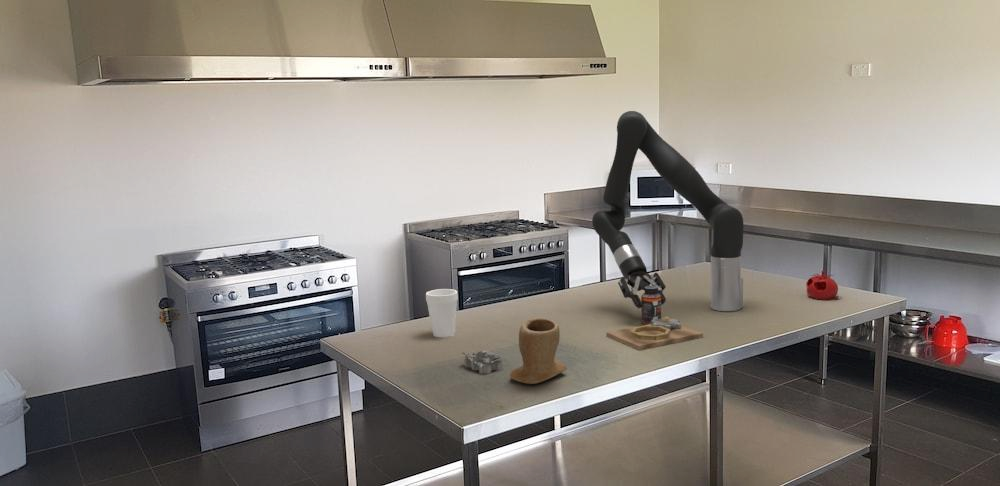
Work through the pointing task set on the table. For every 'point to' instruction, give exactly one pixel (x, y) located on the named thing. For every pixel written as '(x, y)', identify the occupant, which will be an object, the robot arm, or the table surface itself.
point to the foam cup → (442, 311)
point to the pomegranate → (821, 287)
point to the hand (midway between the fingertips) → (652, 305)
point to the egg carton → (483, 361)
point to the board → (654, 334)
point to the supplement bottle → (650, 305)
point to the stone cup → (538, 351)
